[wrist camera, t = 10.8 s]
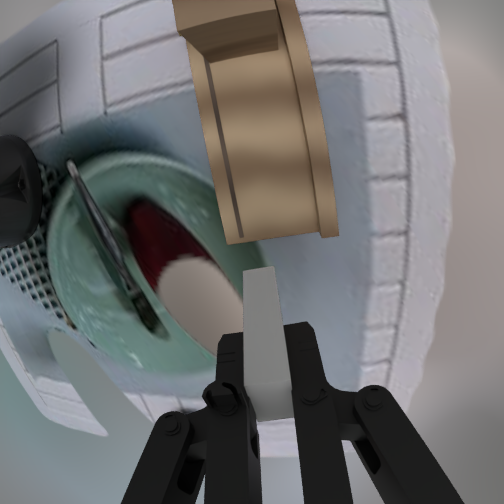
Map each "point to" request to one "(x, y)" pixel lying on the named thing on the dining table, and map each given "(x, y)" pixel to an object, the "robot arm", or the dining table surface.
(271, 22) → the brown wooden block
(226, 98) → the brown wooden tray
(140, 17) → the dining table surface
